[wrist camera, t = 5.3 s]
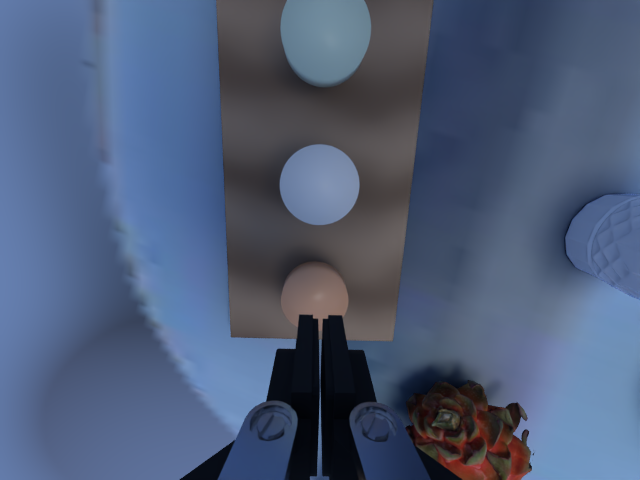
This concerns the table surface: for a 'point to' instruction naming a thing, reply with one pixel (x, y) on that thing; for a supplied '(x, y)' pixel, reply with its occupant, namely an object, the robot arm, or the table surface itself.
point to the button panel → (310, 129)
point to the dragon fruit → (469, 432)
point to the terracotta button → (314, 292)
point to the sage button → (325, 39)
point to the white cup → (608, 241)
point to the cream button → (319, 184)
